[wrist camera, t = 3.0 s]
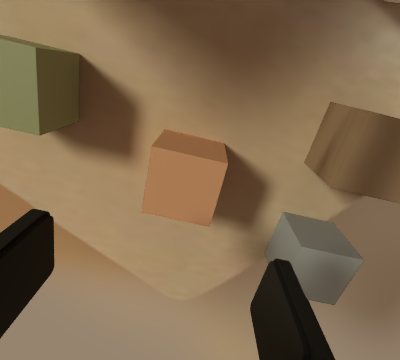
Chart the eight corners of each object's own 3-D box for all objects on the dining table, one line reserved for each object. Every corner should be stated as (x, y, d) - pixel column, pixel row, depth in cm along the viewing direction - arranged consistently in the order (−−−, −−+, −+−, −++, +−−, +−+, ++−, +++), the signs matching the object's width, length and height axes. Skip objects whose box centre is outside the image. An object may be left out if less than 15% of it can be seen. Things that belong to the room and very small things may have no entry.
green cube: (80, 54, 18) (35, 47, 13) (79, 121, 20) (39, 135, 15) (11, 36, 17) (-60, 23, 13) (16, 106, 19) (-43, 116, 15)
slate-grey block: (333, 222, 23) (364, 260, 18) (311, 262, 25) (334, 305, 20) (282, 211, 22) (301, 246, 18) (264, 252, 24) (277, 293, 20)
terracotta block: (224, 143, 20) (228, 163, 15) (209, 194, 22) (209, 226, 17) (164, 129, 20) (151, 146, 15) (155, 182, 22) (141, 212, 17)
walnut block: (390, 117, 19) (449, 131, 14) (358, 175, 21) (401, 203, 16) (330, 102, 18) (369, 111, 14) (303, 161, 20) (331, 187, 16)
